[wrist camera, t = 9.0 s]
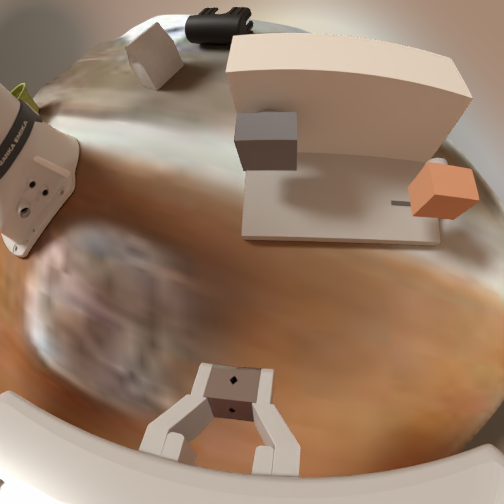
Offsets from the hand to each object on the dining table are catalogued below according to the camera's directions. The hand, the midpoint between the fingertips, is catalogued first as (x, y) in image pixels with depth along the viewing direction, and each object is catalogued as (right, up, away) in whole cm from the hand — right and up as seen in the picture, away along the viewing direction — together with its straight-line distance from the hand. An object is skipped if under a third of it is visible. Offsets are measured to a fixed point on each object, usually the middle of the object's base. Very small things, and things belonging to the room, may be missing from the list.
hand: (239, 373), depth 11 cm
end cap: (-4, +42, +29) cm, 52 cm away
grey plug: (+2, +15, +15) cm, 22 cm away
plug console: (+11, +14, +20) cm, 27 cm away
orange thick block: (+18, +10, +12) cm, 24 cm away
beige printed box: (-14, +35, +28) cm, 47 cm away
